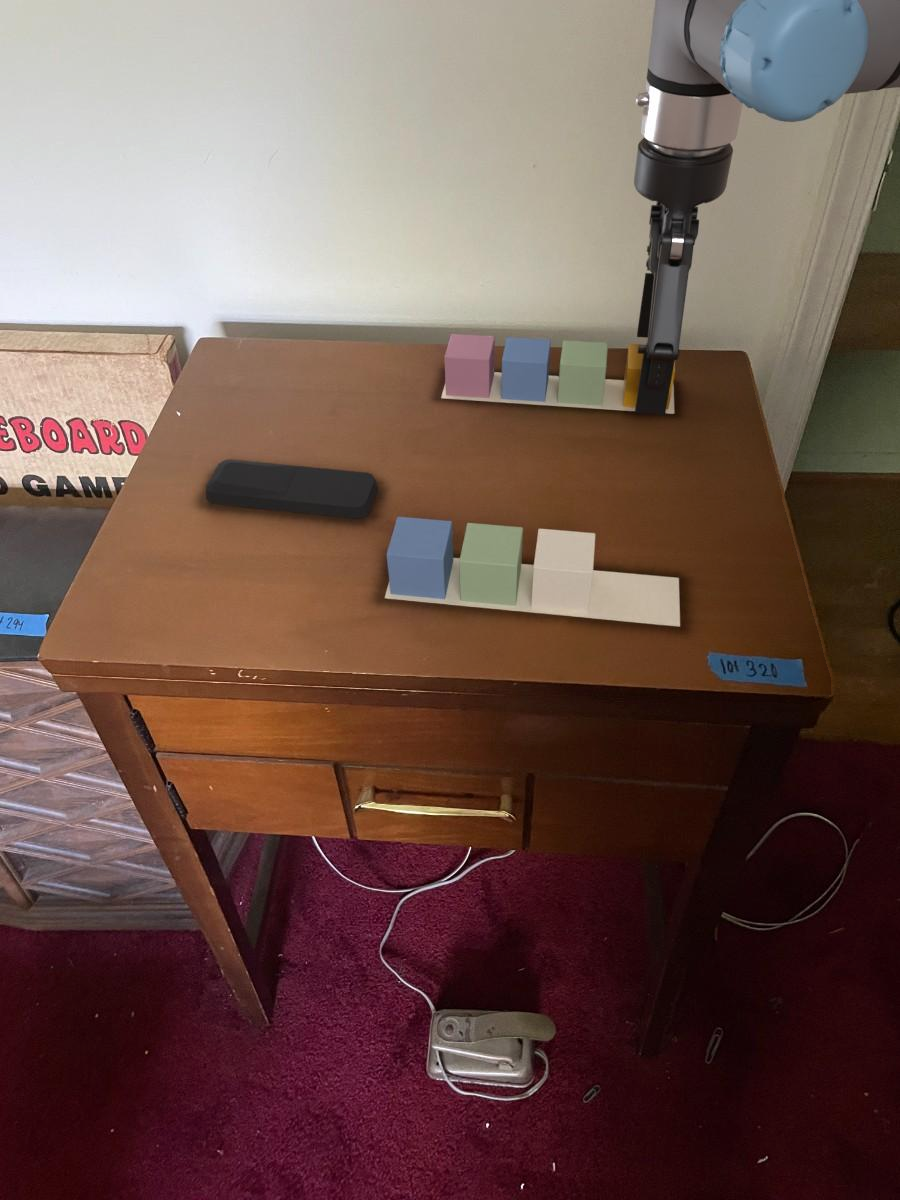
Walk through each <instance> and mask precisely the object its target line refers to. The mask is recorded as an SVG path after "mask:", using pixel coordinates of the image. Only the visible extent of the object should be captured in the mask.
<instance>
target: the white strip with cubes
mask: <svg viewBox="0 0 900 1200" xmlns="http://www.w3.org/2000/svg"><path fill="white" fill-rule="evenodd" d="M523 537H524V528H523V526H512V525H499V524H490V523H489V524H486V523H477V522H476V523H475V522H467V523H466V528H465V532H464V538H463V542H462V546H461V551H460V556H459V557H454V539H453V538H454V534H453V521H452V520H443V519H429V518H420V517H419V518H418V517H407V516H397V517H396V521H395V524H394V528H393V531H392V534H391V537H390V541H389V544H388V546H387V547H388V548H387V550H386V563H387V572H388V573H387V574H388V585H387V588H386V591H385V595H384V599H388V600H396V601H397V600H398V601H409V602H418V603H419V602H420V603H428V604H440V605H449V606H450V605H451V606H461V607H470V608H482V609H491V610H502V611H511V612H512V611H514V612H523V613H532V614H533V613H534V614H543V615H555V616H564V617H565V616H566V617H576V618H585V619H595V620H604V621H605V620H607V621H618V622H627V623H637V624H638V623H639V624H647V625H656V626H657V625H658V626H668V627H669V626H670V627H681V610H680V609H681V607H680V605H681V604H680V603H681V602H680V578H679V577H673V576H664V575H663V576H662V575H652V574H651V575H650V574H641V573H640V574H639V573H628V572H617V571H608V570H607V571H606V570H594V565H595V564H594V562H595V550H596V549H595V548H596V547H595V546H596V533H595V532H584V531H574V530H573V531H571V530H563V529H562V530H561V529H549V528H538V530H537V538H536V546H535V552H534V561H533V564H528V563H522V560H523V559H522V558H523V539H524V538H523Z"/></svg>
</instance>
